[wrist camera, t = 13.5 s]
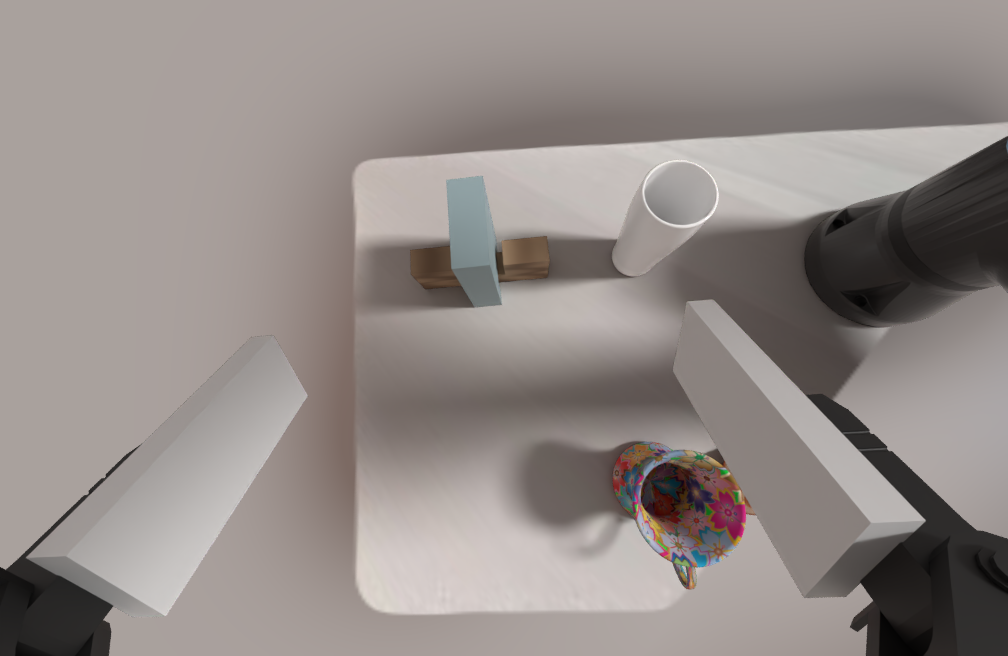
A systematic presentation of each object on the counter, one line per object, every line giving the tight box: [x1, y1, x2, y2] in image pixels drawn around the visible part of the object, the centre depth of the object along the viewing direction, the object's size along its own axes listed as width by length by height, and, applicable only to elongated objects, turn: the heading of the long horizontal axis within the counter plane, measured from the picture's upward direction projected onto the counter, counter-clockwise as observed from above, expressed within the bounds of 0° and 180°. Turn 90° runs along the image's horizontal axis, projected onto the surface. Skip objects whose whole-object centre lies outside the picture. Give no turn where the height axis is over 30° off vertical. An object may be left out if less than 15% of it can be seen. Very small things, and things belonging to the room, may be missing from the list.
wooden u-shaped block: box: [410, 236, 550, 289], centre depth 44 cm, size 16×3×6 cm, turn 94°
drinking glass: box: [612, 160, 719, 277], centre depth 39 cm, size 7×7×15 cm
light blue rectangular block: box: [446, 176, 502, 307], centre depth 40 cm, size 4×9×14 cm, turn 5°
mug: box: [613, 442, 746, 589], centre depth 35 cm, size 12×9×11 cm
